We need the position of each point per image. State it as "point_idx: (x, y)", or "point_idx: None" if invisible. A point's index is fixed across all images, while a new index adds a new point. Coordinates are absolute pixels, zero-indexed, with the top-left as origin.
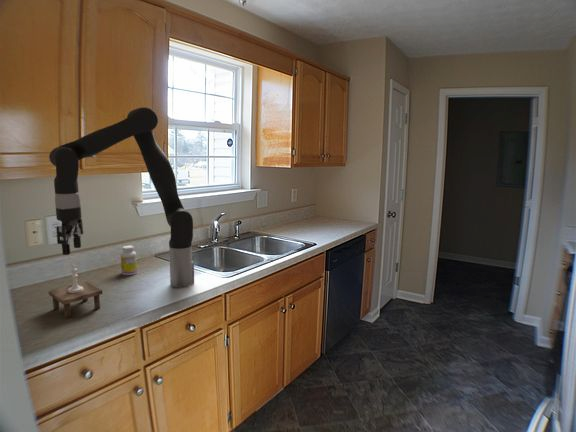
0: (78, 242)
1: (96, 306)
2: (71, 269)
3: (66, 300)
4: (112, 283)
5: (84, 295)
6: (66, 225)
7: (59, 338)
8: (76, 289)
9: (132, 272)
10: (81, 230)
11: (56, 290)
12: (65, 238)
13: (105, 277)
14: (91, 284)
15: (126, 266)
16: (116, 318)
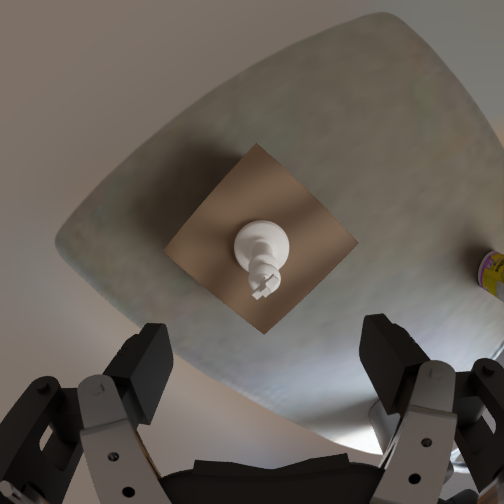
0: (375, 376)
1: None
2: (255, 271)
3: (170, 257)
4: (439, 253)
5: (217, 297)
6: None
7: (101, 269)
8: (244, 261)
9: (481, 285)
10: (459, 448)
11: (262, 170)
12: (60, 461)
13: (476, 215)
14: (325, 276)
15: (493, 279)
16: (203, 352)
